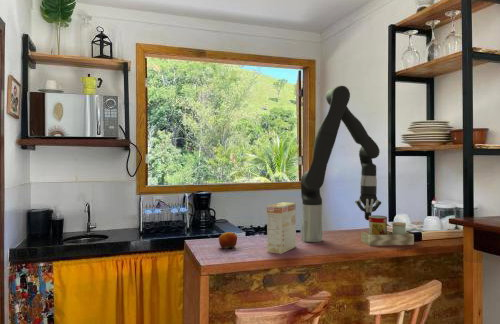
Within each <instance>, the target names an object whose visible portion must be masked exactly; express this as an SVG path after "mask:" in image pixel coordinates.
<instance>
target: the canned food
mask: <svg viewBox="0 0 500 324" xmlns="http://www.w3.org/2000/svg"><path fill="white" fill-rule="evenodd" d="M387 231H388V216H386V215H377V214H376V215H373V214H371V216H369V220H368V234H369V235H387Z"/></svg>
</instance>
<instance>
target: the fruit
mask: <svg viewBox="0 0 500 324" xmlns="http://www.w3.org/2000/svg"><path fill="white" fill-rule="evenodd" d="M218 242H219V245H220V247H221V248H222V249H226V250H228V249H229V248H232V249H236V245H237V242H238V236H237V234H236V233H234V232H230V231H228V232H227V231H225V232H223V233H222V234H221V235H220V236H218Z"/></svg>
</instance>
